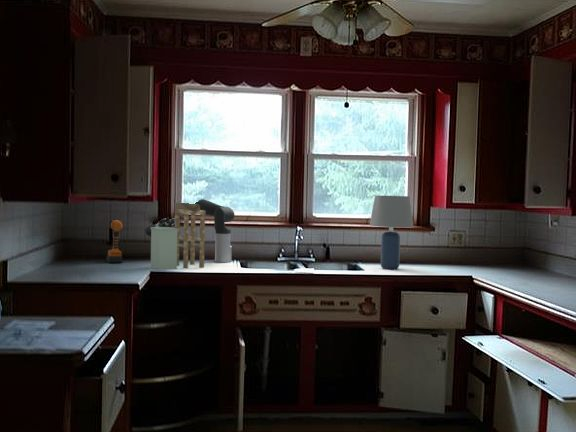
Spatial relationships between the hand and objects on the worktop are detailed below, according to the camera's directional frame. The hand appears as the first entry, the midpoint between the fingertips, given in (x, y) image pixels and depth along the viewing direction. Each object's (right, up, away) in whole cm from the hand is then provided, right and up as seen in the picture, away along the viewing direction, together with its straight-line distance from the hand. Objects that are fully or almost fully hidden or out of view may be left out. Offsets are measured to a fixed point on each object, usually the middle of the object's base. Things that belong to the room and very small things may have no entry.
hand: (175, 217), depth 345 cm
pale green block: (-2, -27, -24) cm, 36 cm away
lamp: (+127, -30, -4) cm, 130 cm away
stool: (+11, -27, -16) cm, 33 cm away
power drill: (-36, -26, -3) cm, 44 cm away
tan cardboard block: (+9, +5, -14) cm, 17 cm away
